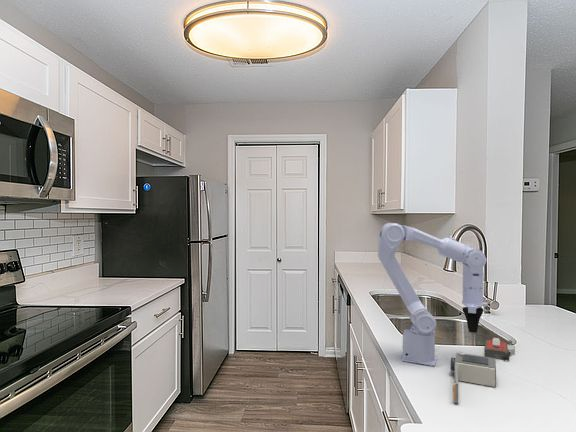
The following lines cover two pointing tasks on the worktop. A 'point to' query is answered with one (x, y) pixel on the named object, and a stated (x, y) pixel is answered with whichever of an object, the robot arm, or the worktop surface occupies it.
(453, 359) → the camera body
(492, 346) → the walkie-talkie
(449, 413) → the worktop surface
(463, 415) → the worktop surface
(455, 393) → the side door
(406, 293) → the robot arm
